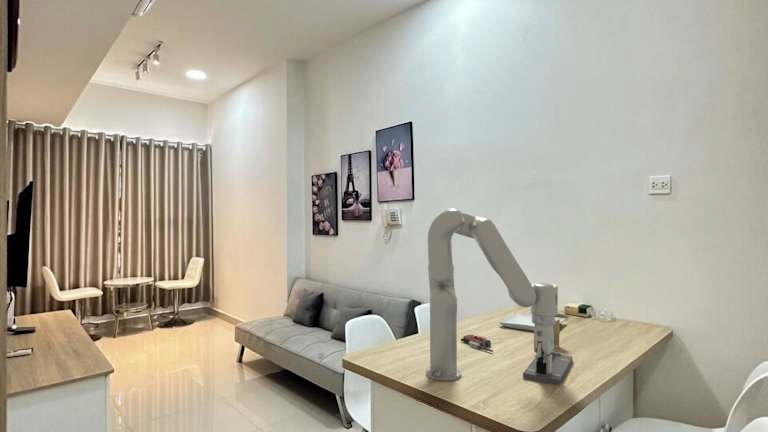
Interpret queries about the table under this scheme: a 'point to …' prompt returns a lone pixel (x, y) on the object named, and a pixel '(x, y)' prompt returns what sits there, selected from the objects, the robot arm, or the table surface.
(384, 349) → the table surface
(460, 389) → the table surface
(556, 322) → the skincare box
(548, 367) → the fader knob
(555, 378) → the slider console
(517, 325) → the square plate
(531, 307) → the supplement box
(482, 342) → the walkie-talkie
